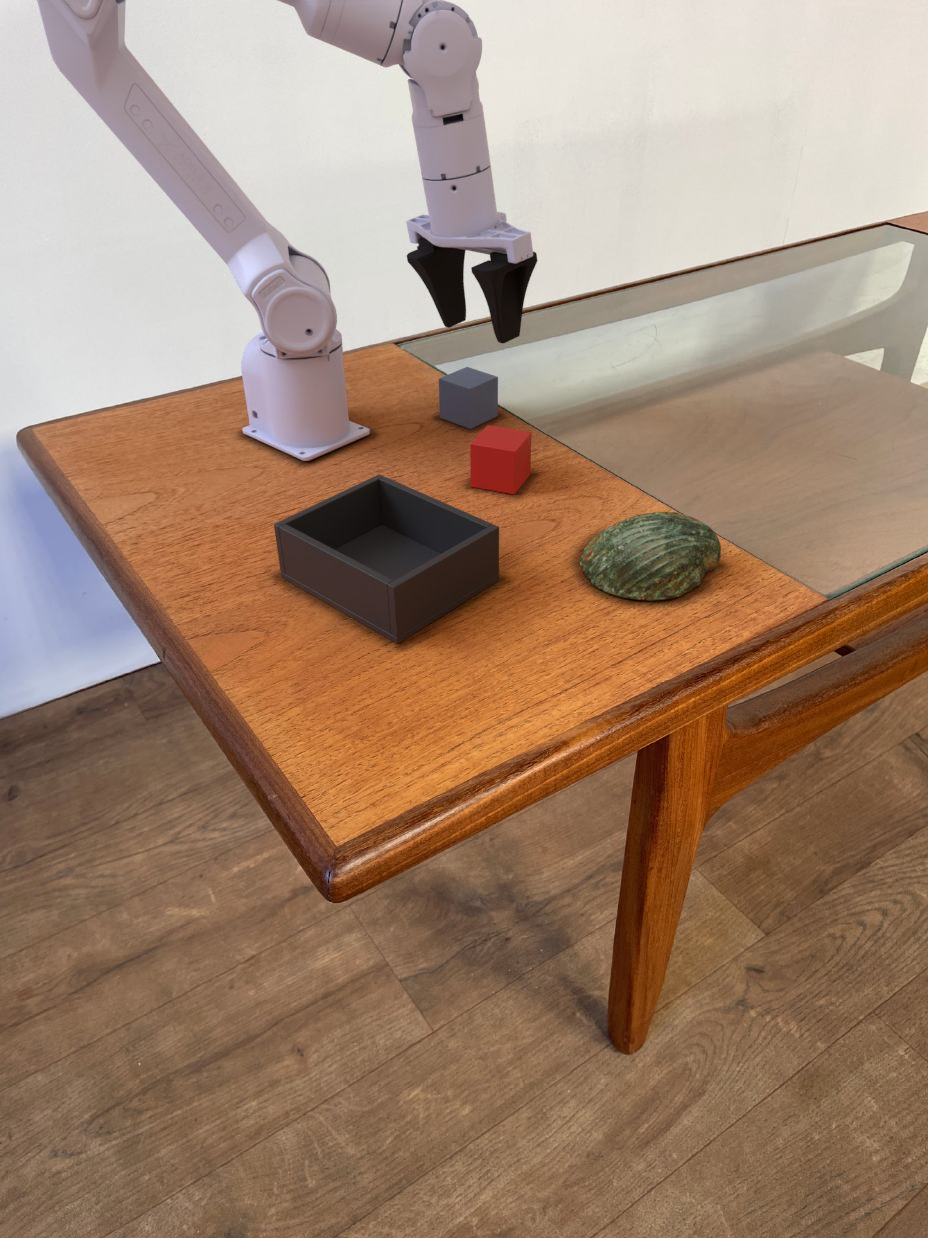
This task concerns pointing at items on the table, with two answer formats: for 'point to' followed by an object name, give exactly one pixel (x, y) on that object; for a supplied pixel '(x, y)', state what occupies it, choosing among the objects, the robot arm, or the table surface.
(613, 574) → the seashell
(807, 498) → the table surface
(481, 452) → the red block
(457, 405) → the blue block
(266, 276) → the robot arm
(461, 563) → the bin
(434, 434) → the table surface
